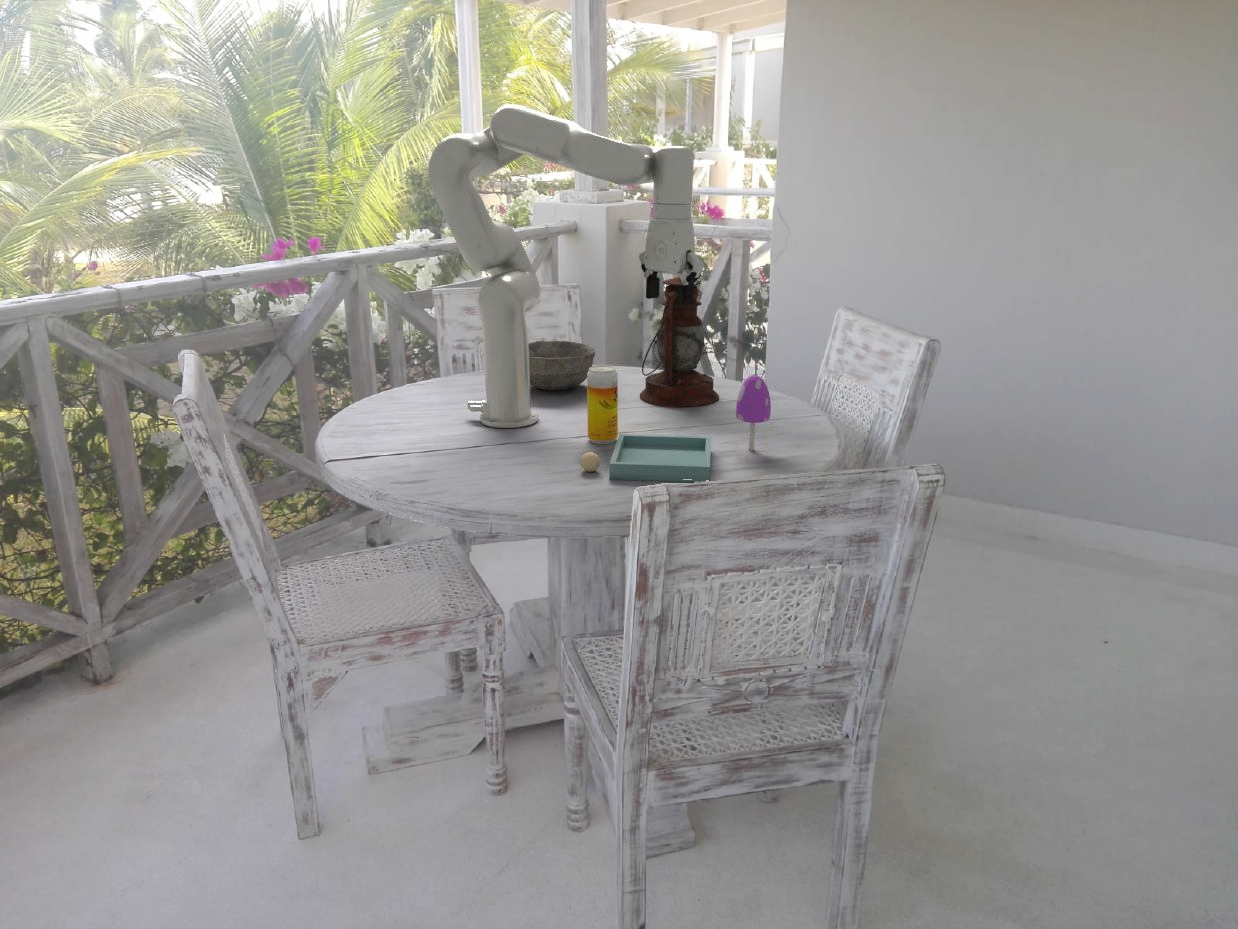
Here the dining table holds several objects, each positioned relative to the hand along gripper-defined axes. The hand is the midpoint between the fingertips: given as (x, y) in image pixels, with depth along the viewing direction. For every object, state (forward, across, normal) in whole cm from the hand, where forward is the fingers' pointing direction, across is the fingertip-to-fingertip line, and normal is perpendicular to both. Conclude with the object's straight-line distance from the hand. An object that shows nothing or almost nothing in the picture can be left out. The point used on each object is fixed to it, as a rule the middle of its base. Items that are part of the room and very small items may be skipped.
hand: (669, 301), depth 188 cm
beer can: (+28, -4, -13) cm, 31 cm away
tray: (+27, +15, -15) cm, 34 cm away
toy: (+27, +20, +5) cm, 34 cm away
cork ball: (+28, +9, -27) cm, 40 cm away
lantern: (+28, -19, +23) cm, 40 cm away
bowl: (+28, -45, +5) cm, 53 cm away
